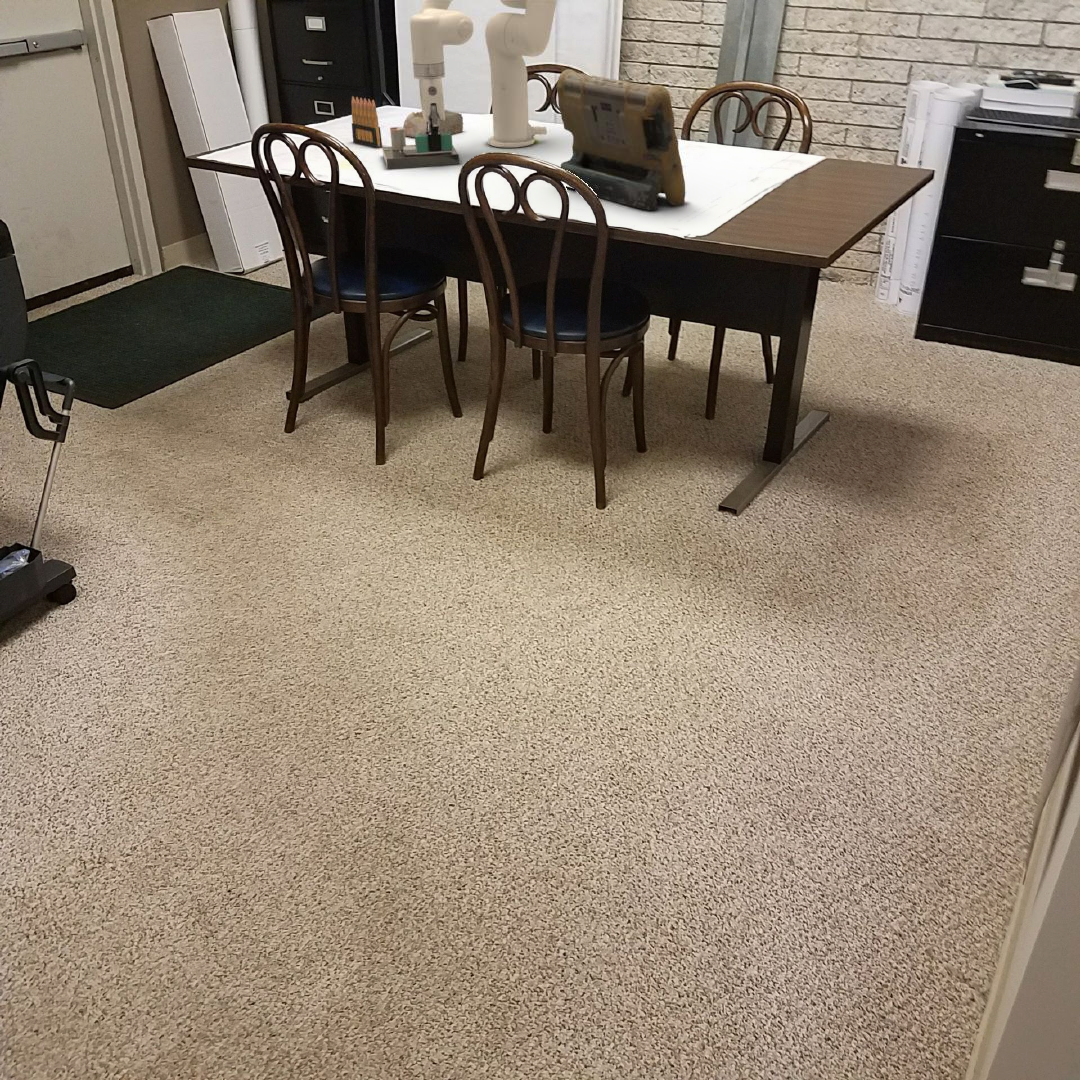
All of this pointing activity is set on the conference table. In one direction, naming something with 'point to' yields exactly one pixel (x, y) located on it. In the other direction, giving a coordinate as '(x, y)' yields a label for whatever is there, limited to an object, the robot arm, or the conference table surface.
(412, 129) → the geological specimen
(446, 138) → the teal post
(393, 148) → the dial
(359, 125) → the ammunition clip
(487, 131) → the conference table surface
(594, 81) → the tablet
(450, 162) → the hob
